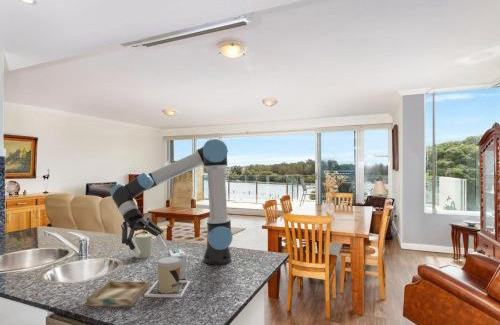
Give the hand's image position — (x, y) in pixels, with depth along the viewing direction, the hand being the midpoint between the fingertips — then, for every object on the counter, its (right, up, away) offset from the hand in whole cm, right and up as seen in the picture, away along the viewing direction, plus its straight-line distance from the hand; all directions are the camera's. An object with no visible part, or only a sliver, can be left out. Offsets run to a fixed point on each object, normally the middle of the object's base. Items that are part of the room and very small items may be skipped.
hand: (152, 251), depth 122 cm
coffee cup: (+9, -14, -5) cm, 17 cm away
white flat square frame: (+9, -14, -5) cm, 17 cm away
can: (-18, -15, +39) cm, 46 cm away
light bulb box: (+8, -15, +10) cm, 19 cm away
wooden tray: (-8, -14, -12) cm, 20 cm away
